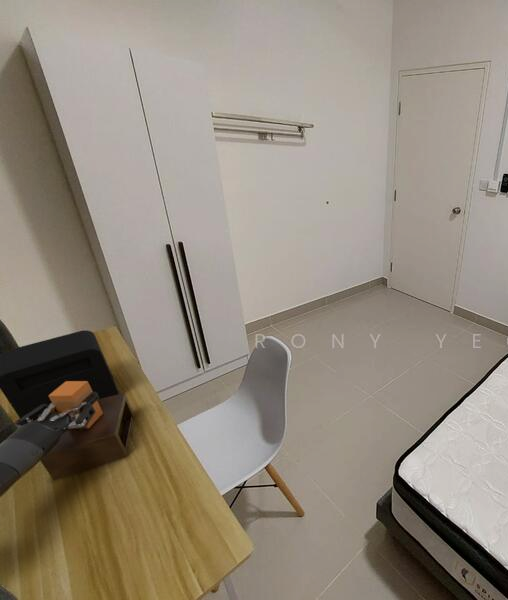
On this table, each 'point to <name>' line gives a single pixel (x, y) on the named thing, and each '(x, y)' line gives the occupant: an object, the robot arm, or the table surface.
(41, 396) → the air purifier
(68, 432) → the open-ended wooden box
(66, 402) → the package
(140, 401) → the table surface
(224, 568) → the table surface
